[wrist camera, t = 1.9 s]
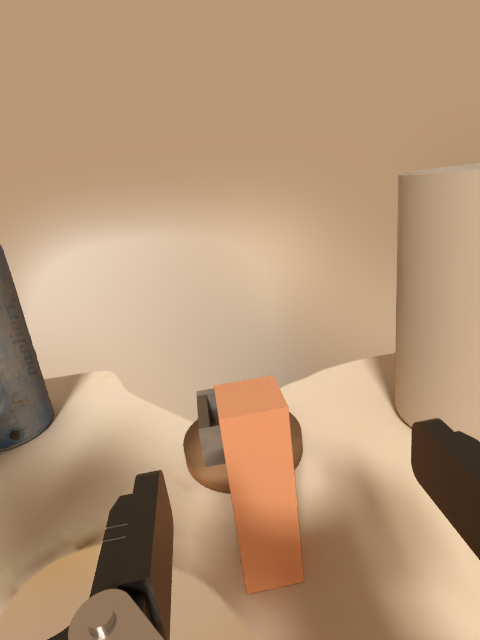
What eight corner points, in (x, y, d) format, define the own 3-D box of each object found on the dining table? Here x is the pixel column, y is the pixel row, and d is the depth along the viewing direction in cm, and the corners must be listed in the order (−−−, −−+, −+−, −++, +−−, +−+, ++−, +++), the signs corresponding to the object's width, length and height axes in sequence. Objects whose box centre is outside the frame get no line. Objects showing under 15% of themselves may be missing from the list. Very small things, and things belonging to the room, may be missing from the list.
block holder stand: (187, 505, 35) (176, 454, 33) (186, 427, 46) (178, 385, 44) (318, 479, 36) (315, 428, 34) (286, 409, 47) (282, 367, 46)
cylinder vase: (384, 386, 50) (385, 174, 41) (493, 382, 47) (518, 158, 39) (411, 453, 38) (421, 176, 29) (557, 451, 36) (612, 153, 27)
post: (247, 594, 27) (218, 419, 22) (239, 544, 31) (213, 385, 26) (304, 581, 27) (288, 407, 23) (289, 533, 31) (273, 375, 26)
